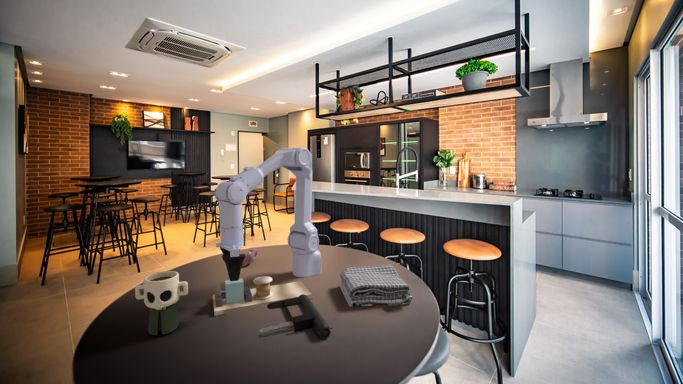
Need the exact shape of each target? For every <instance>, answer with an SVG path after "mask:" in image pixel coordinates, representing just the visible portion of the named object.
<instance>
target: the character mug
mask: <svg viewBox="0 0 683 384" xmlns="http://www.w3.org/2000/svg"><path fill="white" fill-rule="evenodd" d="M181 286H182V288H183V291H182V290H181V291H180V287H181ZM141 290H143V294H141ZM134 292H135V293H134V294H135V298H136V300H144V304H145V306H146V307H148V308H150V309H149V317H148V325H147V326H148V327H147V328H148V329H147V333H148V334H149V335H151V336H158V334H159V333H158V331H159V332H161V335H166V334H169V333H172V332H173V331H175V330H177V328H178V327H179V326H180V323H179V322H180V321H179V315H178V311H177V306H176V305H177V304H176V303H177V302H178V301H179V299H180V296H187V295H188V294H189V283H188V281H180V273H179V272H178V271H173V270H163V271H158V272H153V273H150V274H148V275H146V276H144V277H143V282H142V284H137V285H135V287H134Z"/></svg>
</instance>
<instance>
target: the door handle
mask: <svg viewBox="0 0 683 384" xmlns="http://www.w3.org/2000/svg"><path fill="white" fill-rule="evenodd" d="M312 299H313V298H309V295H305V294H302V295H300V296H299V297H295V298H289V299H283V300H278V301H272V302H268V304H267V307H266V308H268V309H269V310H273V309H275V310H276V309H282V308H285V311H286V313H287V315H288V316H289V318H290V321H287V322H281V323H279V324H274V325H271V326H267V327H266V326H265V327H262V328H259V333H260V334H258V336H259V338H260V339H261V338H266V337H267V338H268V337H271V336H276V335H280V334H285V333H290V332H295V333H297V332H302V331H307V330H312V329H314V331H315V332H316V334H317V335H318V337H320V338H321V339H324V340H325V339H328V338H329V337H330V335H331V329H333V327H330V326H329V325H328V323H327V322H326V320H325V319H324V317H323V316H322V314H321V313H320V312H319V310H318V309H317V308H316V306H315V305H314V303H313V302H312ZM294 306H295V307H296V306H300V307H301V308H302V310H303V311H304V313H303V314H298V315H295V316H293V315H292V314H291V312H290V310H289V307H294ZM265 332H266V333H265ZM261 333H262V334H261Z"/></svg>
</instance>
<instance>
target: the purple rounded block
mask: <svg viewBox="0 0 683 384" xmlns="http://www.w3.org/2000/svg"><path fill="white" fill-rule="evenodd" d="M259 252H260V249H259V248H255V247H253V248H250V249H249V250H248V252H247V253H246V254H245V255H246V256H245V259H244V261H243V263H242V266H241V268H242V267H245V266H247V265H251V264H252V263H253V262H254V261H255V260H256V257H257V256H258V254H259Z"/></svg>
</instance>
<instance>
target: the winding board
mask: <svg viewBox="0 0 683 384" xmlns="http://www.w3.org/2000/svg"><path fill="white" fill-rule="evenodd" d="M252 282H253V284H255V288H254V287H253V288H250V286H246V287H245V286H244V302H238V303H232V304H226V294H225V290H221V291H220V290H219V291H214V294H212V305H213V312H214V313H213V314H214V317H217V316H222V315H226V314H227V313H226V311H227V310H232V309H236V308H237V309H238V308H243V307H248V306H254V305H255V306H256V305H260V304H265V303H272V302H277V301H281V300H286V299H290V298H295V297H299V296H300V295H302V294H305V295H307V296H311V295H313V294H312V292H310V290H309V289H308V287H306V286H305V285H304V283H303V282H302V281H300V280H299V281H293V282H286V283H280V284H274V285H271V283H272V282H273V277H271V276H268V275H263V276H258V277H255V278H254V279H253V281H252Z"/></svg>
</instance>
